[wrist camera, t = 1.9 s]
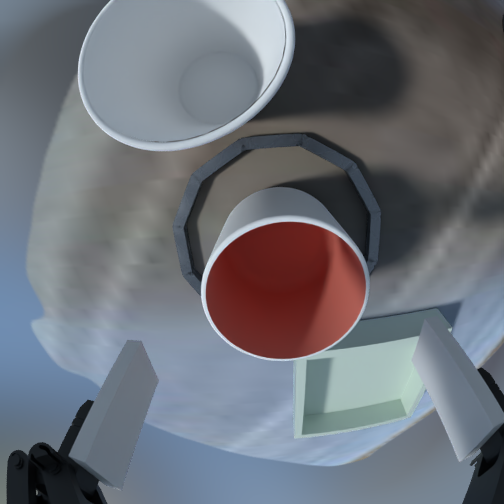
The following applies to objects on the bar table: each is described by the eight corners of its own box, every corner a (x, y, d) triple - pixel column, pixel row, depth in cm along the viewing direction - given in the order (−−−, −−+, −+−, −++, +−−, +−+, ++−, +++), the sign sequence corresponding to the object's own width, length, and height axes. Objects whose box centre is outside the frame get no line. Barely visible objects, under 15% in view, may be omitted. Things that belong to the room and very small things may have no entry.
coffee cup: (300, 62, 18) (333, -2, 7) (245, 164, 22) (225, 190, 11) (192, 21, 17) (141, -47, 6) (141, 119, 21) (50, 116, 10)
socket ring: (376, 134, 20) (380, 134, 20) (367, 314, 28) (369, 319, 27) (164, 149, 22) (160, 150, 21) (198, 325, 29) (196, 331, 28)
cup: (322, 172, 22) (361, 197, 13) (340, 275, 26) (372, 342, 17) (209, 200, 24) (175, 241, 14) (241, 297, 27) (230, 371, 18)
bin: (436, 307, 27) (452, 327, 23) (402, 398, 34) (410, 417, 30) (293, 327, 28) (296, 353, 25) (292, 416, 35) (294, 438, 32)
